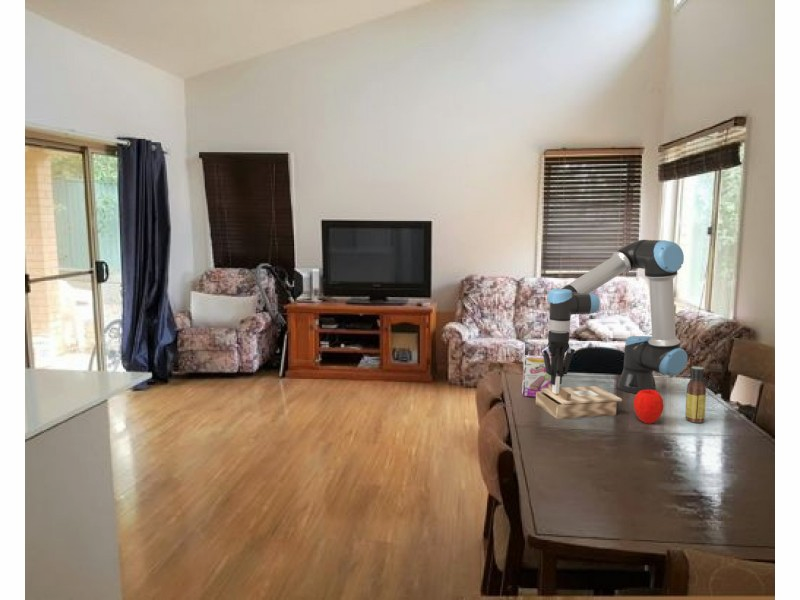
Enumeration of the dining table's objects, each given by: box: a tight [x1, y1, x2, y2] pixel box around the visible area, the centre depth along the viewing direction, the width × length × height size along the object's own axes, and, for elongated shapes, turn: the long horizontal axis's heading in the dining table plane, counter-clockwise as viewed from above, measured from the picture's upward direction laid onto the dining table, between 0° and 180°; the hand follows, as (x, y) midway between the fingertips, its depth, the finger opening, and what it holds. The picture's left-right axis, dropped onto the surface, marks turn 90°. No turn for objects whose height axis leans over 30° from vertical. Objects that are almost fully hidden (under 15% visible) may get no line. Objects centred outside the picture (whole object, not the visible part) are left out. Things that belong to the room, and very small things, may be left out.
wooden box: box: [535, 391, 618, 420], centre depth 218 cm, size 24×17×5 cm
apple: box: [633, 389, 664, 425], centre depth 206 cm, size 10×10×12 cm
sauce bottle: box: [684, 365, 707, 424], centre depth 207 cm, size 6×6×20 cm
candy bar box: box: [521, 354, 551, 398], centre depth 233 cm, size 11×5×16 cm, turn 84°
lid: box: [541, 383, 623, 404], centre depth 218 cm, size 24×17×3 cm
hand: (555, 392), depth 216 cm, fingers closed
